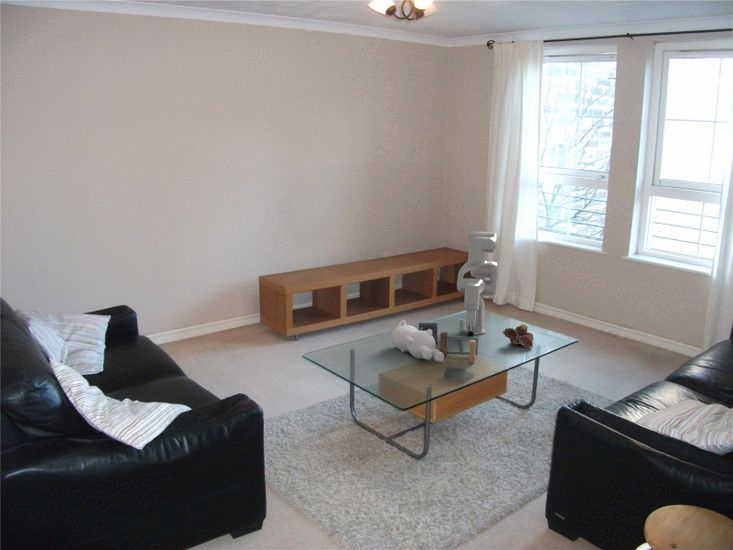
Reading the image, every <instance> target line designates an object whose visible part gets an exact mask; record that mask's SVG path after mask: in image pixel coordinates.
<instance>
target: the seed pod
mask: <svg viewBox="0 0 733 550" xmlns="http://www.w3.org/2000/svg"><path fill="white" fill-rule="evenodd" d="M502 334H503V335H504V337H505V338H507V339H509V342H510V344H512V345H519V344H520V345H522V346H523V347H524V348H533V345H534V344H533V343H534V342H533V341H534V340H535V339H534V334H533V333H531V332H528V325H526V324H525V323H524V324H523V323H521V324H519V325H518V326H516V328H513V327H509V328H505V329H504V331H502Z"/></svg>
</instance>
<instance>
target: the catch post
mask: <svg viewBox="0 0 733 550" xmlns="http://www.w3.org/2000/svg"><path fill="white" fill-rule="evenodd" d="M475 348H476V340H469V355H468V356H469V357H468V364H472V363H474V362H476V355H475ZM474 364H475V363H474Z"/></svg>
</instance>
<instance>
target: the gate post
mask: <svg viewBox="0 0 733 550" xmlns="http://www.w3.org/2000/svg"><path fill="white" fill-rule="evenodd" d="M439 335H440V336H439V338H440V339H439V340H440V341H439V351H440V352H442V353H443V354H444V359H443V360H446V359H447V358H448V354H447V351H448V344H447V341H448V340H449V339H448V336H449V333H448V332H447V331H441V333H440V334H439Z"/></svg>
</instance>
